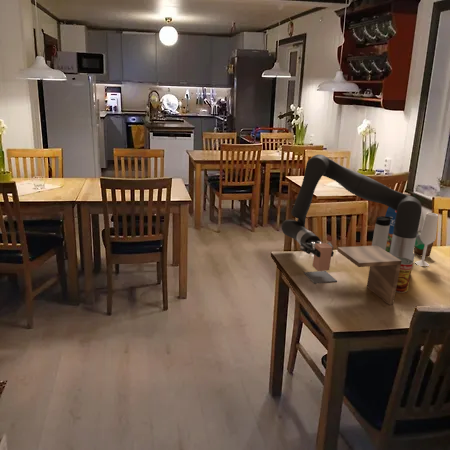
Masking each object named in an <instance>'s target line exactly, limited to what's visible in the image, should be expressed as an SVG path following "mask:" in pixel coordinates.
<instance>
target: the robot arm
mask: <svg viewBox="0 0 450 450" xmlns="http://www.w3.org/2000/svg"><path fill="white" fill-rule="evenodd" d="M323 177H325V178H328V179H331V180H333V181H334V182H336V183H338V185H340V186H341V187H343V188H344V189H345V190H346V191H348V192H349V193H351V194H353V195H355V196H357V197H359V198H361V199H363V200H366V201H369V202H373V203H378V204H382V205H385V206H387V207H391V208H392V209H394V210H396V211H397V213H396V219H395V225H394V231H393V237H392V242H391V248H390V254H391V255H393V256H395V257H404V258H408V259H410V260H412V261H413V262H414V260H415V257H416V256H415V255H416V254H415V253H414V246H415V241H416V236H417V231H419V226H420V221H421V216H422V215H421V214H422V210H423V209H422V208H423V207H422V203H421V201H420V200H419V199H418V198H416V197H415V196H412V195H409V194H405V193H403V192H400V191H397V190H396V189H395V190H394V189H392V188H390V187H388V186H387V185H386V184H383V183H381V182H379V181H377V180H376V179H373V178H372V177H369V176H367V175H364V174H362V173H360V172H358V171H356V170H353V169H351V168H348V167H345V166H343V165H341V164H339V163H337V162H336V161H335V160H333V159H331V158H330V157H328V156H326V155H324V154H315V155H313V156H312V157H310V158H309V159H308V161H307V162H306V164H305V170H304V175H303V178H302V184H301V186H300V188H299V192H298V194H297V196H296V199H295V201H294V204H293V207H292V209H291V212H290V213H291V215H292V216H293V217H294V218H295V219H297V220H294V219H285V220H284V221H283V222H282V223H281V231H282V233H283V234H284V235H285V236H287V237H289V238H290V239H294V241H296V242H297V243H298V244H299V245H300V247H299V248H300V249H299V250H301V251H303V252H304V253H306V254H308V255H310V254H312V255H313V256H314V255H316V256H317V257H320V255H321V253H320V251H318V250H317V249H316V248H315V244H316V243H324V242H322V241H321V239H320V237H319V236H318V235H316V234H315V233H314V232H313V231H311V230H310V229H308V228H306V220H307V219H306V218H307V215H308V212H309V210H310V207H311V205H312V202H313V198H314V197H313V196H314V193H315V190H316V188H317V186H318V184H319V182H320V180H321V178H323ZM327 244H329V245H330V246H331V247H332V254H331V258H333V257H334V254H335V252H334V245H332V243H331V242H327ZM413 265H414V264H413ZM413 265H412V267H413ZM412 271H413V270H411V272H412Z"/></svg>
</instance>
